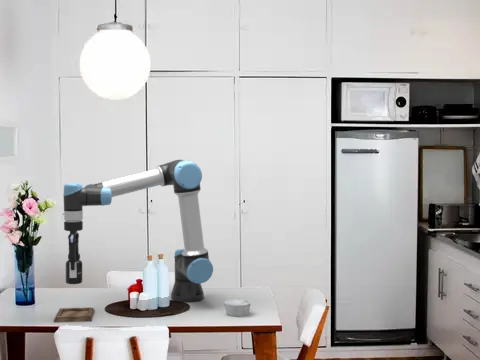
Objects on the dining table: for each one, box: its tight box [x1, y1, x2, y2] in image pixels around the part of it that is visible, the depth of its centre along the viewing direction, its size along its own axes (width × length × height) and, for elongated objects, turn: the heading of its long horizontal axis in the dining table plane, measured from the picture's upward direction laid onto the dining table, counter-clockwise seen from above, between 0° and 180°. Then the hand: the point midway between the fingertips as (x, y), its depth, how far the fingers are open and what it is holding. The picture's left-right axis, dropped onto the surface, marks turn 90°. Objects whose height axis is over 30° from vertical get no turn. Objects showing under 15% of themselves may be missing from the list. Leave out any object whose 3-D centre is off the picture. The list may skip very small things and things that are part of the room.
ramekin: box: [224, 298, 252, 317], centre depth 306 cm, size 11×11×5 cm
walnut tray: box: [53, 306, 96, 323], centre depth 301 cm, size 15×15×2 cm
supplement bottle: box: [65, 253, 83, 285], centre depth 299 cm, size 7×7×12 cm
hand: (74, 275), depth 299 cm, fingers closed on supplement bottle, 7 cm apart
